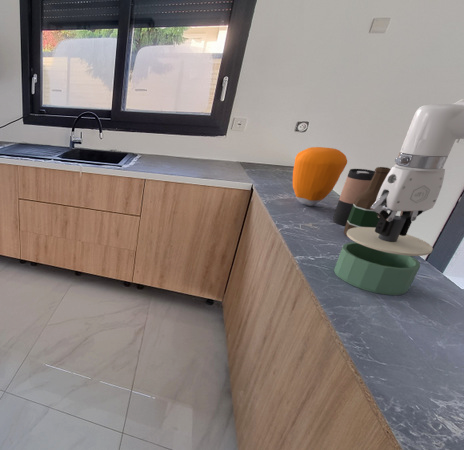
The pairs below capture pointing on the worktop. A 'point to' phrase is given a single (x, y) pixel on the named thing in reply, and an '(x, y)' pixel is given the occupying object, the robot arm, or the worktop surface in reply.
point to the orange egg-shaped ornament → (316, 173)
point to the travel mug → (351, 193)
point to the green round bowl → (376, 269)
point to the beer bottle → (367, 203)
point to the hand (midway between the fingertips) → (389, 233)
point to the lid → (390, 240)
